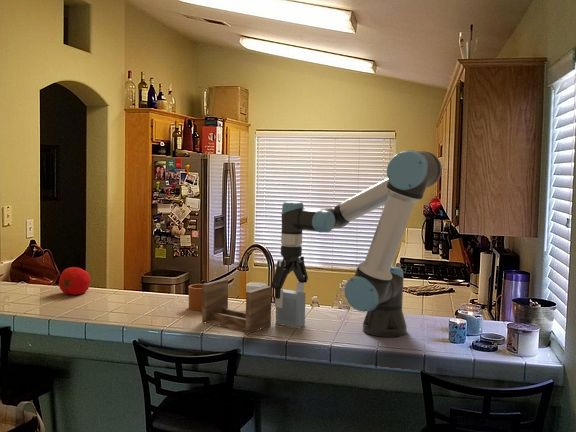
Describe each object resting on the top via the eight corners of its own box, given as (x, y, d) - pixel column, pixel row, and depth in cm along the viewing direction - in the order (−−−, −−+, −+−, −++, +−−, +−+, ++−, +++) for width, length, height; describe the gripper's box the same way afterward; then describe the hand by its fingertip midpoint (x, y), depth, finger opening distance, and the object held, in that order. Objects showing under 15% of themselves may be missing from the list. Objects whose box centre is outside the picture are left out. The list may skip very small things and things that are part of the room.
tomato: (80, 297, 261) (61, 304, 249) (66, 272, 262) (46, 278, 249) (101, 283, 258) (82, 290, 245) (86, 258, 258) (67, 264, 246)
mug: (213, 312, 227) (213, 289, 226) (184, 310, 230) (184, 287, 229) (222, 306, 235) (221, 284, 234) (194, 304, 238) (193, 283, 237)
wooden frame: (270, 325, 210) (271, 286, 209) (250, 332, 201) (250, 292, 199) (223, 315, 223) (223, 278, 221) (202, 322, 213) (202, 284, 212)
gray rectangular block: (304, 325, 211) (305, 292, 210) (298, 328, 207) (298, 294, 206) (281, 321, 216) (282, 288, 215) (275, 323, 213) (275, 290, 212)
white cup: (263, 312, 228) (263, 286, 227) (243, 310, 230) (244, 285, 229) (268, 307, 236) (268, 282, 235) (249, 306, 237) (249, 281, 237)
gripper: (301, 240, 221) (299, 295, 224) (262, 247, 201) (260, 308, 203) (318, 242, 217) (316, 298, 220) (280, 250, 197) (278, 312, 199)
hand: (289, 303), depth 211 cm, fingers open, 13 cm apart
